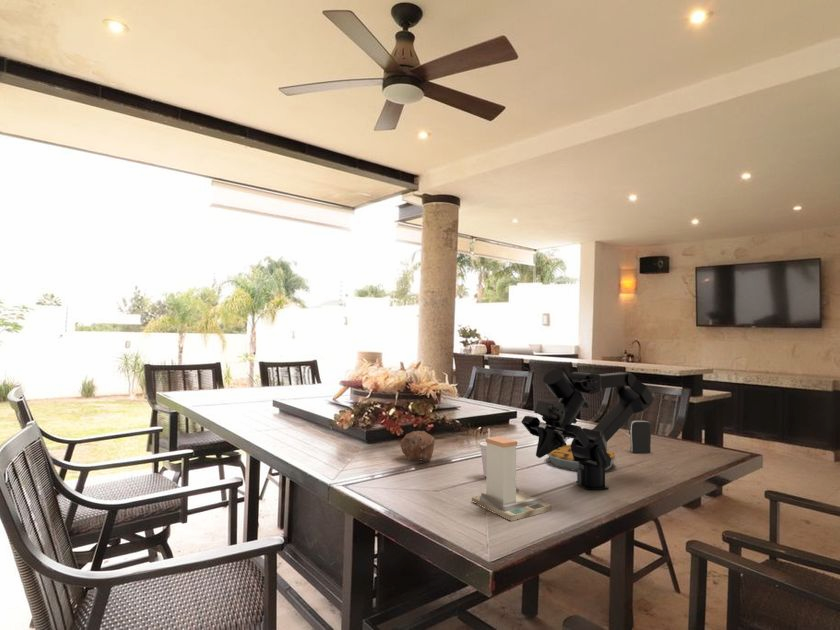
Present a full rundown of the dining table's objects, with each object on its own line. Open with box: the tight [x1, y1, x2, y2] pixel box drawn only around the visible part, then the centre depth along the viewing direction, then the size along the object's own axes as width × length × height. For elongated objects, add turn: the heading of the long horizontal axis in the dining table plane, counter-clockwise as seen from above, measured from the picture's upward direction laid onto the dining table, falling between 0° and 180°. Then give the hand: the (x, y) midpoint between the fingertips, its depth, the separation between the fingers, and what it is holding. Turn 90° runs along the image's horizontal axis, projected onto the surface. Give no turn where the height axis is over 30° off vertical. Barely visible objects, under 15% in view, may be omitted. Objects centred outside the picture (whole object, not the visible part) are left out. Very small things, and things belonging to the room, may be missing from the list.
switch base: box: [471, 487, 552, 522], centre depth 115 cm, size 13×14×3 cm
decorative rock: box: [400, 430, 436, 461], centre depth 157 cm, size 13×11×10 cm
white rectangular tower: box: [485, 435, 518, 506], centre depth 113 cm, size 4×6×15 cm
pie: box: [546, 443, 617, 471], centre depth 155 cm, size 22×22×5 cm
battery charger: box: [628, 419, 652, 454], centre depth 172 cm, size 7×4×11 cm, turn 91°
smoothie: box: [479, 428, 491, 477], centre depth 139 cm, size 6×6×14 cm
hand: (537, 456), depth 120 cm, fingers closed
